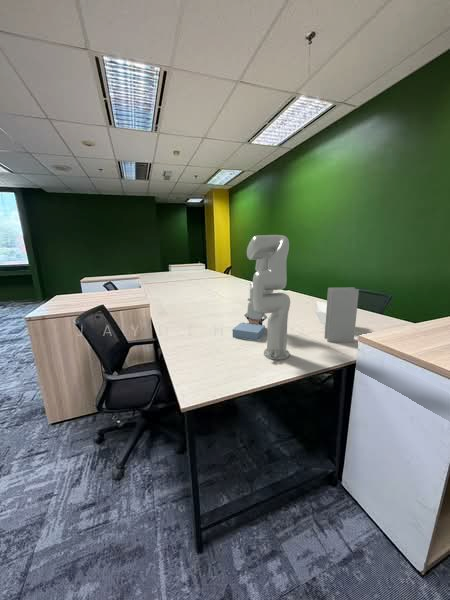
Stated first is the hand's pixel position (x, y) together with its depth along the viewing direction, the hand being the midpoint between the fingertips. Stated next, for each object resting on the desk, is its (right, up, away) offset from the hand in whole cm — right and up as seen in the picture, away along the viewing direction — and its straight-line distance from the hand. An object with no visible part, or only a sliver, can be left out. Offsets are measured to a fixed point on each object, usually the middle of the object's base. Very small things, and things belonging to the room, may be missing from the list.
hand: (255, 327), depth 159 cm
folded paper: (+50, 0, +3) cm, 50 cm away
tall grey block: (+45, -5, -21) cm, 50 cm away
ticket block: (-5, -4, -11) cm, 13 cm away
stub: (0, -1, 0) cm, 1 cm away
